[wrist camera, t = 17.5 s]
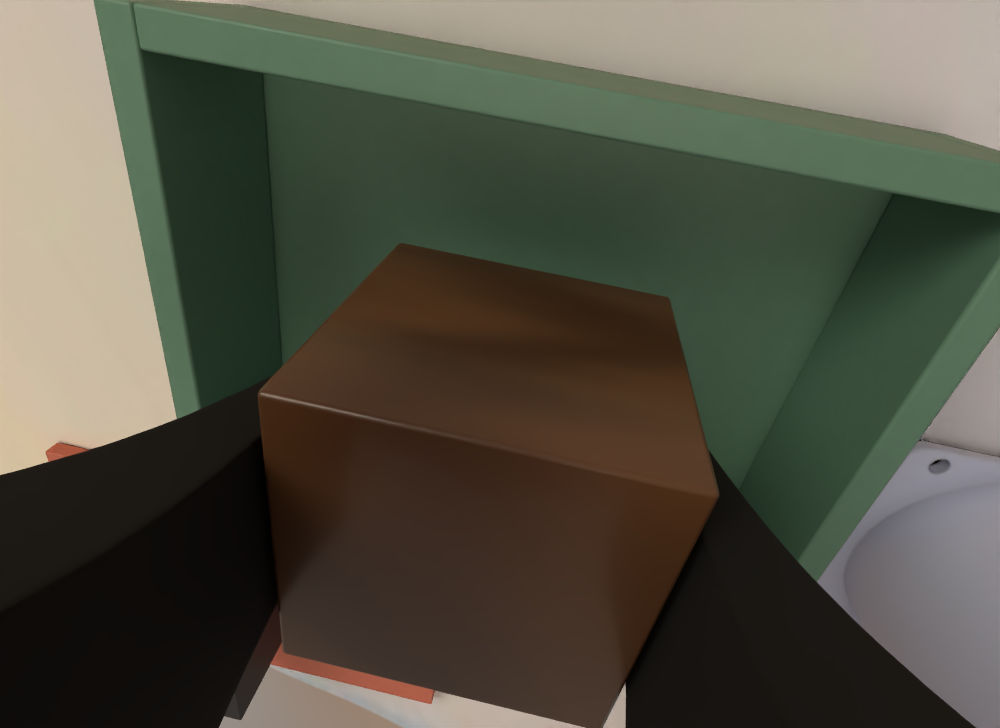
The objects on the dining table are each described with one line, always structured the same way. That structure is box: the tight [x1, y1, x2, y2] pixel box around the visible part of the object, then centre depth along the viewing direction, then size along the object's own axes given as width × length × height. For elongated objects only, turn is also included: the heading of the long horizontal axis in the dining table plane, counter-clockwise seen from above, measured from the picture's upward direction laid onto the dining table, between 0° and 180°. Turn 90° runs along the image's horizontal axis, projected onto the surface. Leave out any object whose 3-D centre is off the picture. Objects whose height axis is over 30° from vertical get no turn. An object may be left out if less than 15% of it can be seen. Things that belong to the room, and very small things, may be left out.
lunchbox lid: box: [46, 443, 435, 720], centre depth 22 cm, size 16×11×4 cm
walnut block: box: [258, 243, 719, 728], centre depth 9 cm, size 5×5×5 cm
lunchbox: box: [94, 0, 1000, 582], centre depth 13 cm, size 16×11×4 cm
